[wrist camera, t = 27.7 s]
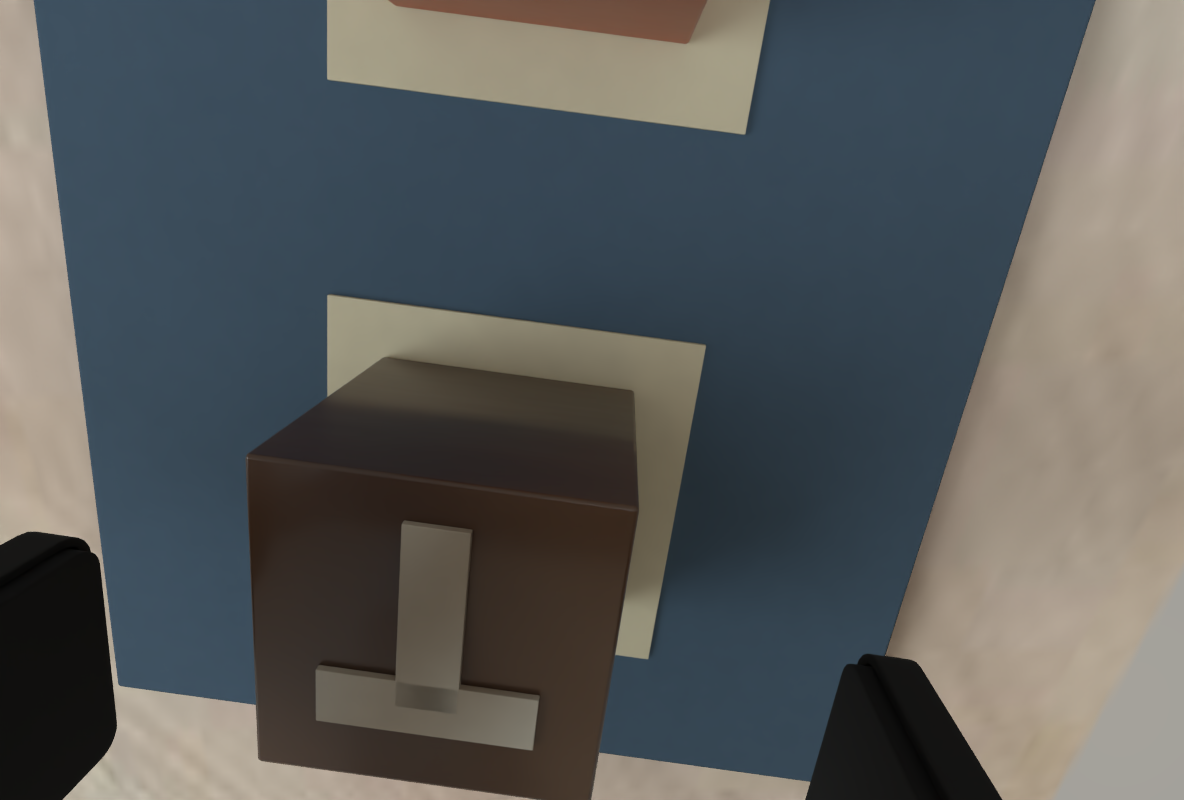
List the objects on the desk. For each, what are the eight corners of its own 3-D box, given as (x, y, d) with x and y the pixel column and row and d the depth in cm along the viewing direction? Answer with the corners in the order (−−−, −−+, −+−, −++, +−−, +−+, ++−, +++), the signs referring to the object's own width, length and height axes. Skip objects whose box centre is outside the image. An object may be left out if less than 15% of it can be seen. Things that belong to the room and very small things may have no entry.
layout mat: (1272, -630, 8) (1328, -702, 7) (835, 764, 15) (845, 792, 14) (-27, -788, 8) (-85, -876, 7) (136, 667, 15) (113, 690, 14)
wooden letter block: (634, 389, 12) (640, 513, 7) (601, 605, 13) (589, 815, 9) (383, 355, 12) (237, 457, 7) (376, 573, 13) (252, 769, 9)
